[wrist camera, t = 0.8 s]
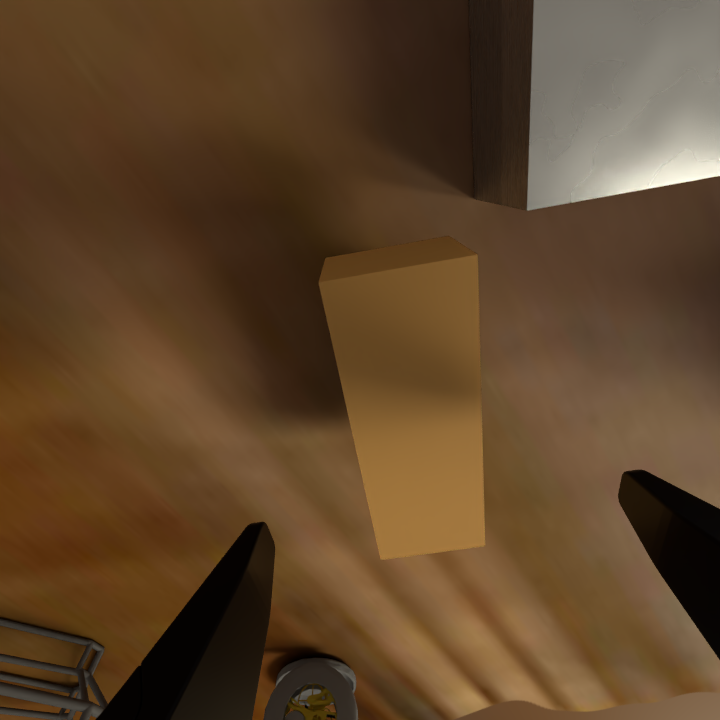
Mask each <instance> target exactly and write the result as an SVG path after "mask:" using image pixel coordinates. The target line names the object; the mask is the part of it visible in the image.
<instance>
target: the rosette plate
mask: <svg viewBox="0 0 720 720" xmlns="http://www.w3.org/2000/svg"><path fill="white" fill-rule="evenodd" d="M469 24H470V60H471V97H472V133H473V170H474V199H476V200H480V201H485V202H490V203H494V204H499V205H503V206H508V207H512V208H517V209H522V210H526V211H528V210H533V209H539V208H545V207H550V206H556V205H561V204H567V203H572V202H578V201H583V200H589V199H594V198H600V197H605V196H611V195H617V194H622V193H628V192H633V191H639V190H644V189H650V188H655V187H661V186H666V185H672V184H677V183H683V182H689V181H694V180H700V179H705V178H711V177H716V176H720V0H469Z"/></svg>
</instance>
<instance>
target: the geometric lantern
mask: <svg viewBox="0 0 720 720" xmlns="http://www.w3.org/2000/svg"><path fill="white" fill-rule="evenodd" d="M0 625H1V626H5V627H9V628H13V629H18V630H22V631H26V632H30V633H35V634H39V635H43V636H47V637H51V638H56V639H60V640H64V641H68V642H73V643H77V644H81V645H85V646H87V647H86V649H85V651H84V653H83V655H82V657H81V659H80V661H79V663H78V665H77V667H76V668H71V667H66V666H61V665H56V664H51V663H45V662H40V661H35V660H30V659H25V658H20V657H15V656H10V655H5V654H0V661H2V662H8V663H13V664H18V665H23V666H28V667H34V668H39V669H44V670H49V671H55V672H60V673H65V674H70V675H76V676H78V681H79V686H77V687H74V688H73V687H68V686H63V685H58V684H53V683H48V682H43V681H38V680H34V679H29V678H24V677H19V676H14V675H9V674H4V673H0V679H2V680H7V681H12V682H17V683H22V684H27V685H32V686H37V687H42V688H47V689H52V690H57V691H62V692H66V693H70V694H69V696H63V695H59V694H54V693H49V692H45V691H40V690H36V689H31V688H27V687H22V686H17V685H13V684H8V683H4V682H0V695H4V696H9V697H13V698H18V699H23V700H28V701H33V702H37V703H42V704H47V705H52V706H56V707H61V708H62V709H61V710H60V712H59V713H50V712H42V711H33V710H24V709H16V708H7V707H0V714H8V715H17V716H26V717H35V718H44V719H53V720H63V719H67V720H73V716H74V715H75V712H76V711H80V712H83V713H82V715H81V717H80V720H89V718H90V716H91V715H92V716H94V717H96V718H97V717H98V716H99V715H100V714H101V712H102V711H103V710H104V709H105V707H106V706H107V705H108V703H107V702H106V700H105V698H104V696H103V694H102V692H101V690H100V689H99V687H98V685H97V683H96V681H95V679H94V678H93V676H92V675H93V673H94V671H95V669H96V667H97V665H98V663H99V661H100V659H101V656H102V654H103V652H104V647H103V646H101V645H99V644H98V643H96V642H94V641H92V640H88V639H84V638H80V637H76V636H71V635H67V634H63V633H59V632H55V631H51V630H47V629H42V628H38V627H34V626H30V625H26V624H22V623H17V622H13V621H9V620H5V619H0ZM92 648H93V649H94V650H96V651H97V653H96V655H95V657H94V659H93V661H92V663H91V665H90V667H89V669H88V671H87V670H85V669H83V668H82V667H83V665H84V663H85V661H86V659H87V657H88V655H89V653H90V651H91V649H92ZM88 683H89V685H90V687H91V689H92V691H93V693H94V695H95V697H96V699H97V700H98V702H99V704H100V706H99V705H97V704H95V703H93V702H91V701H89V698H88V692H87V686H88ZM76 692H78V694H77V696H76V698H73V696H74V694H75V693H76ZM66 709H71V710H70V712H69V713H65V711H66Z"/></svg>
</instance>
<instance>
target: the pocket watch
mask: <svg viewBox="0 0 720 720" xmlns="http://www.w3.org/2000/svg"><path fill="white" fill-rule="evenodd" d="M355 688H356V678H355V674H354V672H353V670H351V669H350V668H349V667H348V666H347V665H345V664H344V663H341V662H339V661H336V660H332V659H327V658H308V659H301V660H298V661H295V662H292V663H290V664H288V665H286V666H285V667H283V669H282V670H281V671H280V672H279V674H278V676H277V680H276V688H275V689H274V691H273V693H272V694H271V696H270V699H269V701H268V704H267V706H266V709H265V714H264V720H327V719H326V717H330V718H331V720H332V718H335V719H336V720H358V711H357V705H356V701H355V697H354V694H353V693H354V691H355ZM293 703H296V704H297V705H298V706H296V705H294V704H293ZM300 704H302V705H305V707H303V706H302V705H300ZM330 704H334V705H335V709H336V713H334V712H330V710H329V709H327V708H325V706H327V705H330ZM308 706H309V707H308ZM290 708H292V709H293V710H294V711H291V712H290V713H288V712H289V711H290ZM325 709H327V710H328V711H329V712H327V711H324V710H325ZM286 714H287V715H286ZM285 716H286V717H285Z"/></svg>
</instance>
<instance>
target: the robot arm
mask: <svg viewBox="0 0 720 720" xmlns="http://www.w3.org/2000/svg"><path fill="white" fill-rule="evenodd" d="M618 499H619V502H620V505H621V507H622V509H623V510H624V512H625V514H626V516H627V517H628V519H629V521H630V523H631V525H632V526H633V528H634V530H635V532H636V533H637V535H638V537H639V539H640V541H641V542H642V544H643V546H644V548H645V549H646V551H647V553H648V555H649V557H650V558H651V560H652V562H653V563H654V565H655V567H656V568H657V570H658V571H659V573H660V574H661V576H662V577H663V579H664V580H665V582H666V583H667V584H668V586H669V587H670V589H671V590H672V592H673V593H674V595H675V596H676V597H677V599H678V600H679V602H680V603H681V605H682V606H683V608H684V609H685V610H686V612H687V613H688V615H689V616H690V618H691V619H692V621H693V622H694V623H695V625H696V626H697V628H698V629H699V631H700V632H701V634H702V635H703V636H704V638H705V639H706V641H707V642H708V644H709V645H710V647H711V648H712V649H713V651H714V652H715V654H716V655H717V657H718V658H719V660H720V509H719V508H717V507H715V506H713V505H711V504H709V503H707V502H705V501H703V500H701V499H699V498H697V497H695V496H693V495H692V494H690V493H688V492H686V491H684V490H682V489H680V488H678V487H676V486H674V485H672V484H670V483H668V482H666V481H664V480H662V479H660V478H659V477H657V476H655V475H653V474H651V473H649V472H647V471H644V470H632V471H626V472H624V473H623V474H622V478H621V483H620V488H619V493H618ZM274 559H275V544H274V541H273V538H272V536H271V533H270V531H269V529H268V526H267V524H266V523H265V522H257V523H251V524H249V525H248V526H247V527H246V528H245V529H244V531H243V532H242V533H241V535H240V536H239V537H238V538H237V540H236V541H235V542H234V544H233V545H232V546H231V547H230V549H229V550H228V551H227V553H226V554H225V555H224V557H223V558H222V559H221V560H220V562H219V563H218V564H217V566H216V567H215V568H214V569H213V571H212V572H211V573H210V575H209V576H208V577H207V578H206V580H205V581H204V582H203V584H202V585H201V586H200V587H199V589H198V590H197V591H196V593H195V594H194V595H193V596H192V598H191V599H190V600H189V602H188V603H187V604H186V605H185V607H184V608H183V609H182V611H181V612H180V613H179V614H178V616H177V617H176V618H175V620H174V621H173V622H172V623H171V625H170V626H169V627H168V629H167V630H166V631H165V632H164V634H163V635H162V636H161V638H160V639H159V640H158V641H157V643H156V644H155V645H154V647H153V648H152V649H151V650H150V652H149V653H148V654H147V656H146V657H145V658H144V660H143V661H142V663H141V666H138V667H137V668H136V670H135V671H134V672H133V673H132V675H131V676H130V677H129V679H128V680H127V681H126V682H125V684H124V685H123V686H122V688H121V689H120V690H119V691H118V693H117V694H116V695H115V696H114V697H113V699H112V700H111V701H110V702H109V704H108V705H107V706H106V707H105V709H104V710H103V711H102V712H101V714H100V715H99V716H98V717H97V718H96V720H252V715H253V710H254V704H255V698H256V693H257V687H258V681H259V676H260V670H261V665H262V659H263V653H264V648H265V642H266V636H267V631H268V625H269V618H270V610H271V598H272V585H273V572H274Z"/></svg>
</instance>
